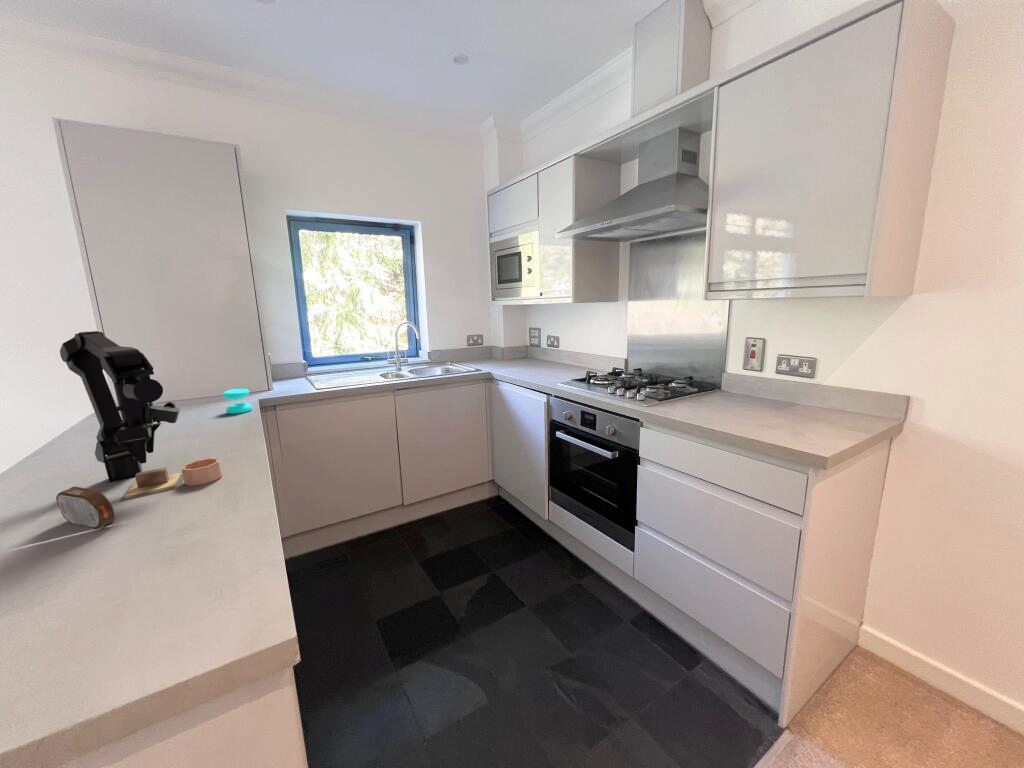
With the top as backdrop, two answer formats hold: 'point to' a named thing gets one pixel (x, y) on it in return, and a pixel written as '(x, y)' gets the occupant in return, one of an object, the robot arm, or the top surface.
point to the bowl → (202, 471)
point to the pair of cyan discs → (237, 407)
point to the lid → (152, 482)
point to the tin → (85, 507)
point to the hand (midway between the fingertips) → (147, 457)
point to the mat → (156, 492)
